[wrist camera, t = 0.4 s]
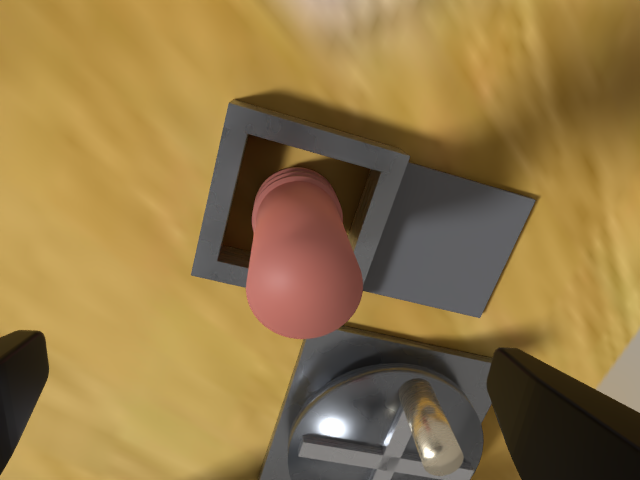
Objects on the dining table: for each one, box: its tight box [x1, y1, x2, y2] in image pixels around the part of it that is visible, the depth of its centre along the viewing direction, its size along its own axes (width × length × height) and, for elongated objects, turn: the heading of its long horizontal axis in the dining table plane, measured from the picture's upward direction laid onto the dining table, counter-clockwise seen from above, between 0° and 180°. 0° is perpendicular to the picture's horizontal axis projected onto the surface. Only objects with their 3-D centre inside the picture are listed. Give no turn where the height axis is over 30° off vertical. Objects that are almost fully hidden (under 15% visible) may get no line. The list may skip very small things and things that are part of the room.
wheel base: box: [258, 325, 493, 480], centre depth 27 cm, size 12×12×1 cm
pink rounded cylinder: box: [246, 167, 363, 339], centre depth 18 cm, size 4×4×9 cm
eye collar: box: [191, 99, 410, 288], centre depth 21 cm, size 8×8×2 cm
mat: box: [363, 162, 536, 318], centre depth 24 cm, size 7×7×1 cm
